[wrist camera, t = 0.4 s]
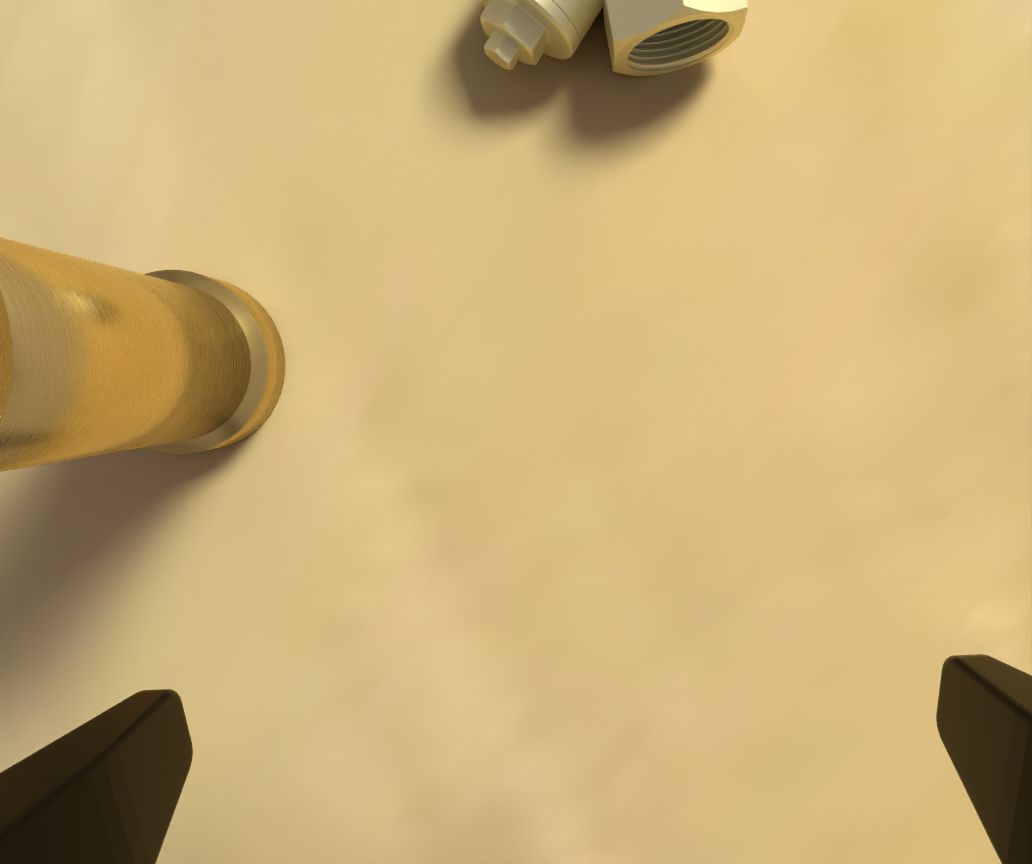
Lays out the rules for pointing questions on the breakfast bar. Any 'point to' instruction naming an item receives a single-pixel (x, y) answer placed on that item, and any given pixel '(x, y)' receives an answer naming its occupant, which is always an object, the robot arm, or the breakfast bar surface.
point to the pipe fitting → (613, 31)
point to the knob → (126, 360)
